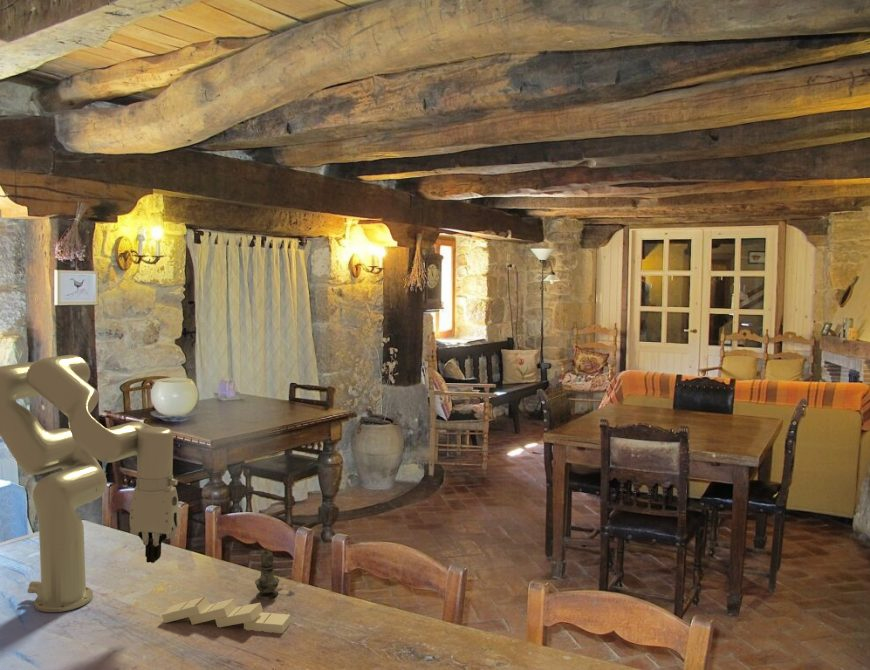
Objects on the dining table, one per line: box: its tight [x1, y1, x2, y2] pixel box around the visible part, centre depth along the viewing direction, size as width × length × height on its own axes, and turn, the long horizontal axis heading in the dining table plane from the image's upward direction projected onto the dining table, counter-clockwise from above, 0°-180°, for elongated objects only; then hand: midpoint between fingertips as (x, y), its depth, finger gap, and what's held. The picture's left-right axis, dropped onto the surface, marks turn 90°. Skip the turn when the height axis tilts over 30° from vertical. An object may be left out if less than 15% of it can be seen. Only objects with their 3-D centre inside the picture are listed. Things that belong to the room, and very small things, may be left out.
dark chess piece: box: [254, 547, 280, 601], centre depth 183 cm, size 6×6×12 cm
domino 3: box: [214, 602, 264, 628], centre depth 167 cm, size 2×5×9 cm
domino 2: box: [188, 598, 238, 626], centre depth 169 cm, size 2×5×9 cm
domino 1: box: [161, 595, 211, 624], centre depth 170 cm, size 2×5×9 cm
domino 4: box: [243, 611, 291, 634], centre depth 167 cm, size 2×5×9 cm
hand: (153, 560), depth 170 cm, fingers closed
